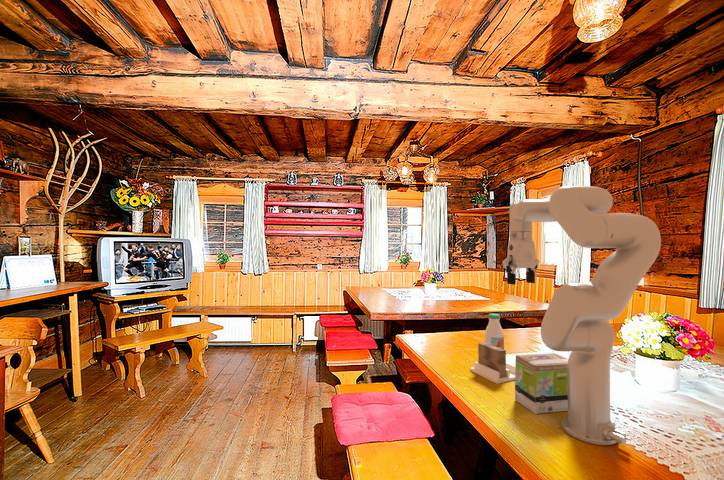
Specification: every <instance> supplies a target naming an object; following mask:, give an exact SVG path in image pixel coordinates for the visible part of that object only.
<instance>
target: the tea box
mask: <svg viewBox="0 0 724 480" xmlns="http://www.w3.org/2000/svg"><path fill="white" fill-rule="evenodd" d="M568 359H569V358H566V357H564V356H562V355H559V354H558V353H555V352H553V353H536V354H519V355H515V366H516V367H515V380H514V400H515V401H516V402H517V403H519V405H520V404H521V405H522V406H523V407H525V409H527V410H529V411H530V412H531V413H533V414H535V415H538V414H545V413H556V412H568V389H567V364H568Z"/></svg>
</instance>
